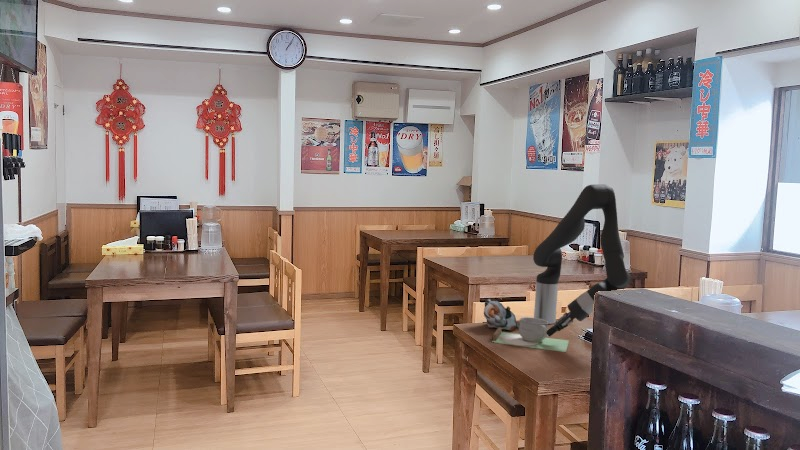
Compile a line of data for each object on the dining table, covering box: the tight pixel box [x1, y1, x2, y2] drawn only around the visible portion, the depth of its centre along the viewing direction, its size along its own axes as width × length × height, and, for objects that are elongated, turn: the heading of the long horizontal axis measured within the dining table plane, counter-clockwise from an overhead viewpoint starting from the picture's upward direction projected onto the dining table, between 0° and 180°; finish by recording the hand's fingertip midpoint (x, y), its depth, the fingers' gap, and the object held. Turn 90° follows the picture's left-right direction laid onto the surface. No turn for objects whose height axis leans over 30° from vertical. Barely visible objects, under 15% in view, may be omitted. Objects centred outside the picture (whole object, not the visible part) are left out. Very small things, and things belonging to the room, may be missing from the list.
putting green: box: [491, 327, 570, 353], centre depth 236 cm, size 16×27×2 cm, turn 71°
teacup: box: [518, 316, 549, 342], centre depth 236 cm, size 14×11×8 cm
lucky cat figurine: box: [483, 298, 519, 332], centre depth 254 cm, size 15×12×14 cm
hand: (547, 334), depth 234 cm, fingers closed
